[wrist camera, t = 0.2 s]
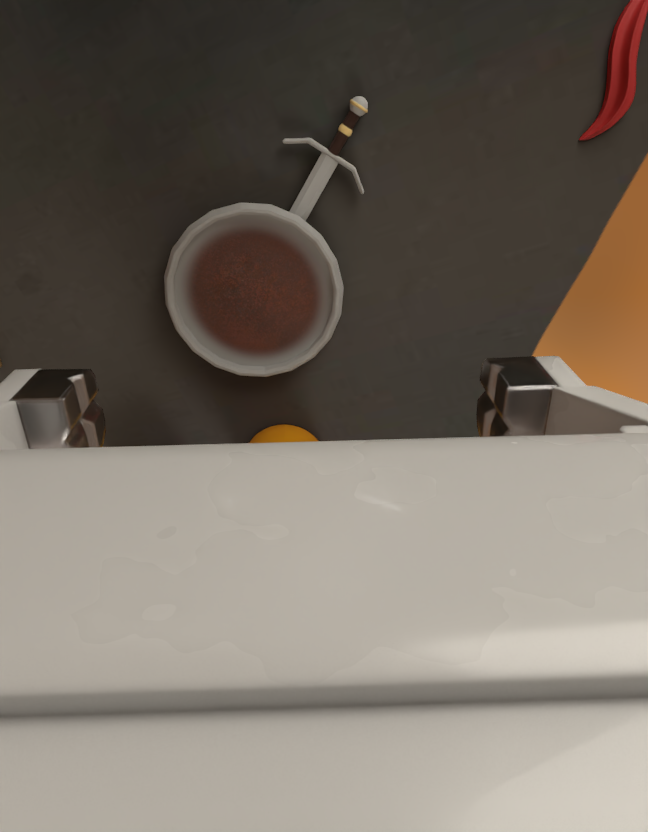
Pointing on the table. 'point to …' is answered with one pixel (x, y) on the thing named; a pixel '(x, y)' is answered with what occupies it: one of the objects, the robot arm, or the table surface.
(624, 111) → the cayenne pepper
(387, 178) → the table surface
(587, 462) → the robot arm
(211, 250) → the frying pan
